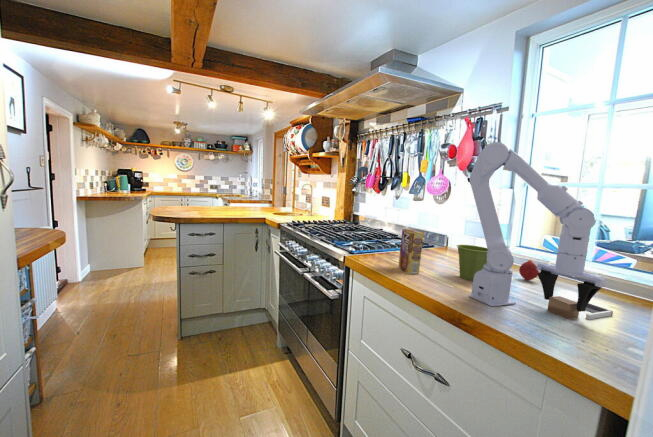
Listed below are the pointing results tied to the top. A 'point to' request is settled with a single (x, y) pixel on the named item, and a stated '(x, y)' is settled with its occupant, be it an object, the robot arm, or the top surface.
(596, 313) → the channel
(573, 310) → the walnut block
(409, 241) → the candy box
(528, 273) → the pomegranate
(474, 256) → the plant pot
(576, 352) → the top surface
